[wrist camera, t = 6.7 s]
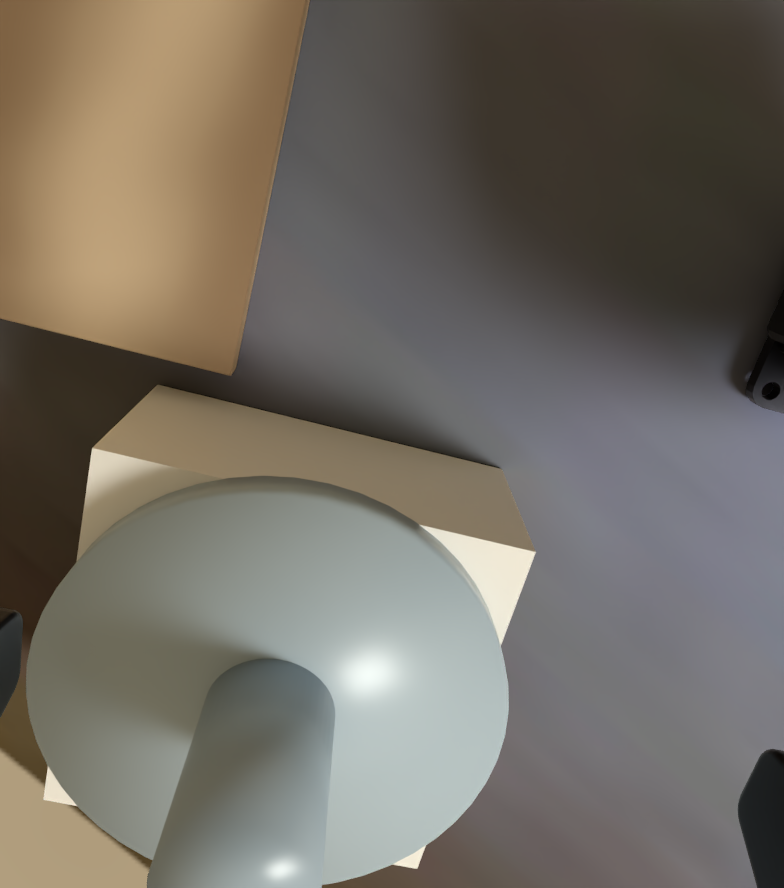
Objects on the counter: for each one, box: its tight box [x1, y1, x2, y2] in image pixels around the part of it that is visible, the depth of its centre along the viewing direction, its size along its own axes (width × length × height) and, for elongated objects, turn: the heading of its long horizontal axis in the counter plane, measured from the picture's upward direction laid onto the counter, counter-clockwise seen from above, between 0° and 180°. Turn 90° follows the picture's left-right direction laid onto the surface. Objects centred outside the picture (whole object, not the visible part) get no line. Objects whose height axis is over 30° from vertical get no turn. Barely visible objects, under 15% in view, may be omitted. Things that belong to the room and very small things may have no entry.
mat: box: [0, 0, 310, 376], centre depth 17 cm, size 12×12×1 cm
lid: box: [26, 476, 509, 888], centre depth 15 cm, size 11×11×6 cm
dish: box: [44, 385, 536, 869], centre depth 20 cm, size 10×10×5 cm
